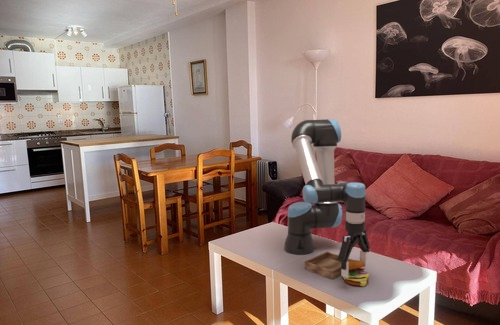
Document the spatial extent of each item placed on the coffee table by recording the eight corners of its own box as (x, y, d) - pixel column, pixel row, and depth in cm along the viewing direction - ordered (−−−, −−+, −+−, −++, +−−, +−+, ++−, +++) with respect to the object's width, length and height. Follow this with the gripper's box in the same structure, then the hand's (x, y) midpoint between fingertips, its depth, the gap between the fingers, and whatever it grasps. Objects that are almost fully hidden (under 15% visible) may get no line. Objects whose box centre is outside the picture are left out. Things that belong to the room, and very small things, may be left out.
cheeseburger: (354, 289, 150) (351, 264, 150) (338, 284, 159) (335, 260, 160) (374, 284, 154) (371, 259, 154) (357, 279, 163) (354, 256, 164)
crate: (304, 268, 169) (304, 261, 169) (327, 258, 180) (327, 251, 180) (332, 279, 159) (332, 271, 158) (354, 267, 170) (354, 260, 169)
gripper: (345, 230, 142) (344, 284, 145) (379, 216, 159) (377, 265, 162) (328, 226, 148) (328, 278, 151) (363, 213, 164) (362, 260, 167)
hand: (354, 271), depth 156 cm, fingers open, 13 cm apart
